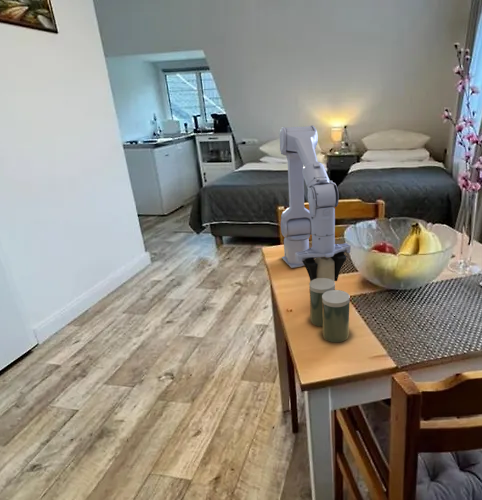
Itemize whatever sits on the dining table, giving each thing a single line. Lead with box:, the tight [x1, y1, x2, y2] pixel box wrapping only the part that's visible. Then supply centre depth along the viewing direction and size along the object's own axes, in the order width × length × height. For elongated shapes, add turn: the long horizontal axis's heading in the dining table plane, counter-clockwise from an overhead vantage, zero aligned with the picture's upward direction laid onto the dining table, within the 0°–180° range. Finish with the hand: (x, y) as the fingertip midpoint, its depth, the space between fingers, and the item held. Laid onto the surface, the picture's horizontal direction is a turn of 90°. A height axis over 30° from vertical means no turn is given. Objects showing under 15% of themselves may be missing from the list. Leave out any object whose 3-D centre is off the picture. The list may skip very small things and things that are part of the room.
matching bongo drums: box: [308, 278, 351, 343], centre depth 90 cm, size 13×6×10 cm, turn 23°
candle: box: [314, 257, 336, 283], centre depth 99 cm, size 6×6×10 cm
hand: (323, 281), depth 100 cm, fingers closed on candle, 5 cm apart
